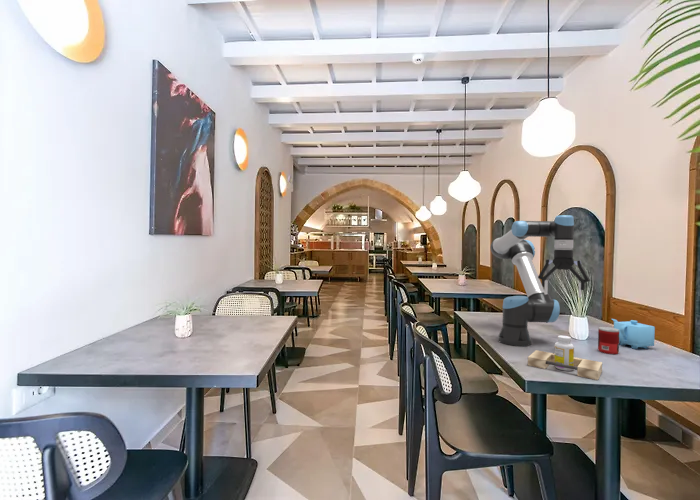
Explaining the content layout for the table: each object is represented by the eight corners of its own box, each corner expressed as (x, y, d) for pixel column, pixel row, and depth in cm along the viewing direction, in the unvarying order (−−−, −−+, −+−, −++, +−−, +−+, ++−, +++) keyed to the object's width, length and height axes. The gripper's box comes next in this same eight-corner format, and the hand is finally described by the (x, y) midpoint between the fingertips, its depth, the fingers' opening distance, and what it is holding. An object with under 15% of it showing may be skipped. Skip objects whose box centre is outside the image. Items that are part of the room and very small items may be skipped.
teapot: (658, 348, 177) (658, 322, 176) (633, 350, 173) (634, 323, 173) (622, 339, 194) (622, 315, 194) (599, 340, 190) (599, 316, 190)
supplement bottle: (571, 366, 148) (572, 335, 148) (575, 372, 142) (576, 339, 142) (552, 364, 150) (553, 334, 150) (556, 370, 144) (556, 337, 144)
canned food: (622, 355, 165) (622, 331, 165) (602, 353, 167) (603, 330, 167) (613, 350, 173) (614, 327, 173) (594, 349, 174) (595, 326, 174)
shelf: (527, 365, 149) (527, 356, 149) (535, 358, 159) (536, 350, 159) (597, 380, 134) (598, 370, 134) (602, 371, 143) (602, 362, 143)
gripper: (531, 248, 170) (530, 293, 171) (595, 249, 154) (594, 299, 155) (535, 248, 176) (534, 292, 176) (597, 249, 160) (596, 297, 160)
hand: (562, 295), depth 165 cm, fingers open, 13 cm apart
